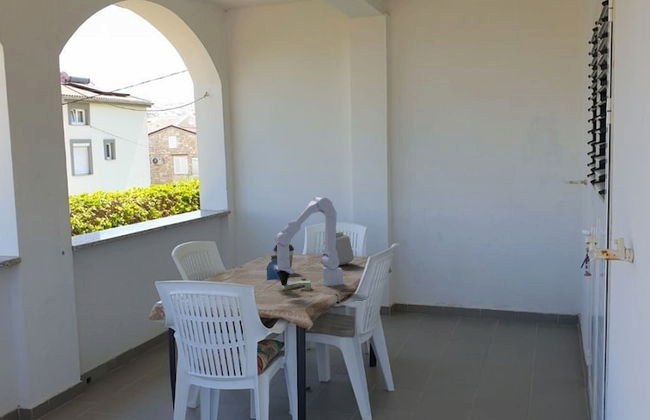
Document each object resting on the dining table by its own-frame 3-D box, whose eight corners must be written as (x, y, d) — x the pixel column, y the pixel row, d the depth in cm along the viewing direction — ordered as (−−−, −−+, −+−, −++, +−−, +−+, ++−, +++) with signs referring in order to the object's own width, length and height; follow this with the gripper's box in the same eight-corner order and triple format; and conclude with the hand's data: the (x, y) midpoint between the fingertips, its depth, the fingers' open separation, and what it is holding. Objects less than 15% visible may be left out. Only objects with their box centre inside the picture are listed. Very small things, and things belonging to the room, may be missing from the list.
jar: (319, 267, 345) (318, 223, 342) (323, 262, 359) (322, 220, 357) (352, 267, 342) (352, 223, 339) (355, 262, 356) (354, 220, 354)
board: (309, 286, 298) (309, 276, 297) (321, 293, 282) (321, 283, 281) (272, 289, 291) (272, 280, 291) (281, 297, 275) (281, 287, 275)
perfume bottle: (271, 277, 321) (270, 254, 320) (282, 277, 319) (281, 255, 318) (267, 279, 315) (266, 256, 314) (278, 280, 313) (277, 257, 312)
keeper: (299, 287, 289) (299, 280, 289) (311, 287, 288) (310, 280, 288) (298, 290, 285) (297, 282, 284) (309, 290, 284) (309, 282, 284)
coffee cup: (277, 270, 339) (276, 243, 338) (297, 270, 337) (296, 243, 335) (271, 274, 328) (270, 246, 327) (291, 274, 326) (291, 247, 324)
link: (304, 283, 296) (304, 279, 296) (309, 285, 293) (308, 280, 293) (280, 289, 286) (280, 285, 286) (285, 290, 283) (285, 286, 283)
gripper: (267, 257, 289) (268, 285, 290) (285, 261, 278) (286, 290, 279) (280, 255, 293) (281, 282, 295) (297, 259, 282) (298, 287, 283)
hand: (284, 286), depth 287 cm, fingers closed
